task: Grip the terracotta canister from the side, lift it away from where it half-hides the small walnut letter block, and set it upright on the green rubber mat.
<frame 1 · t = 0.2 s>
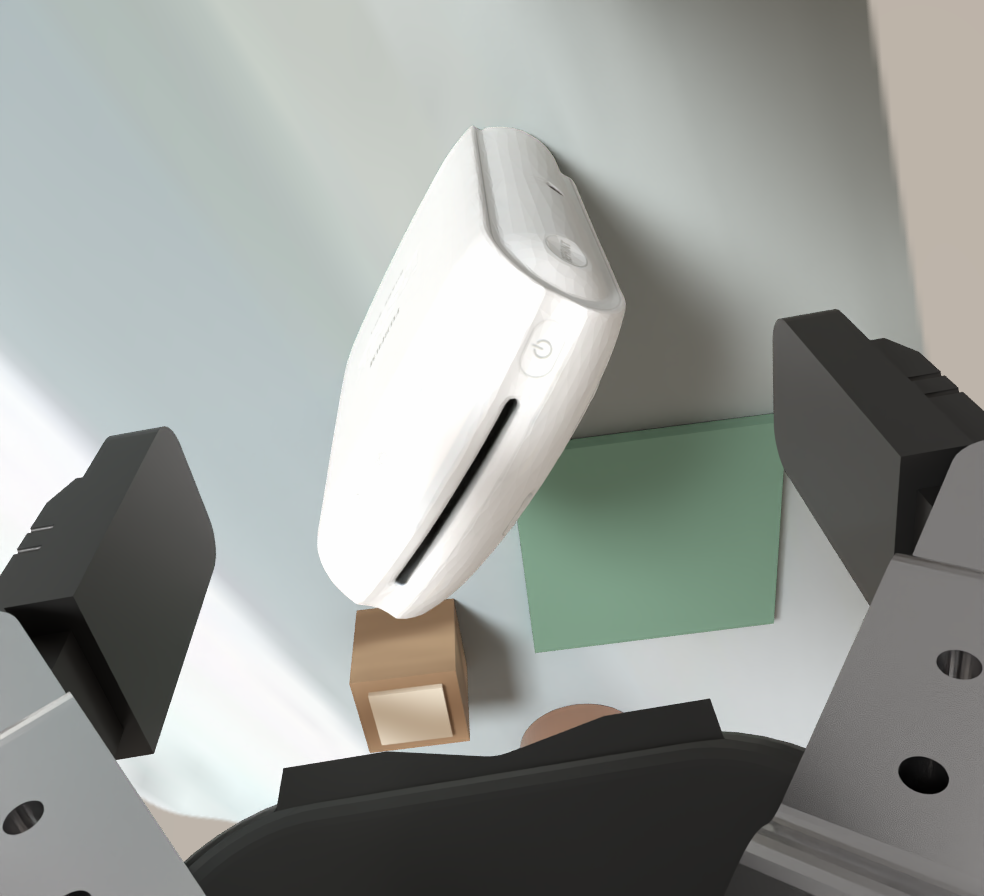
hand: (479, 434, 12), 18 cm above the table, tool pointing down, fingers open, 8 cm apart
green mat: (648, 536, 37), on the table
canister: (580, 745, 43), on the table
letter block: (413, 638, 39), on the table
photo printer: (453, 270, 30), on the table
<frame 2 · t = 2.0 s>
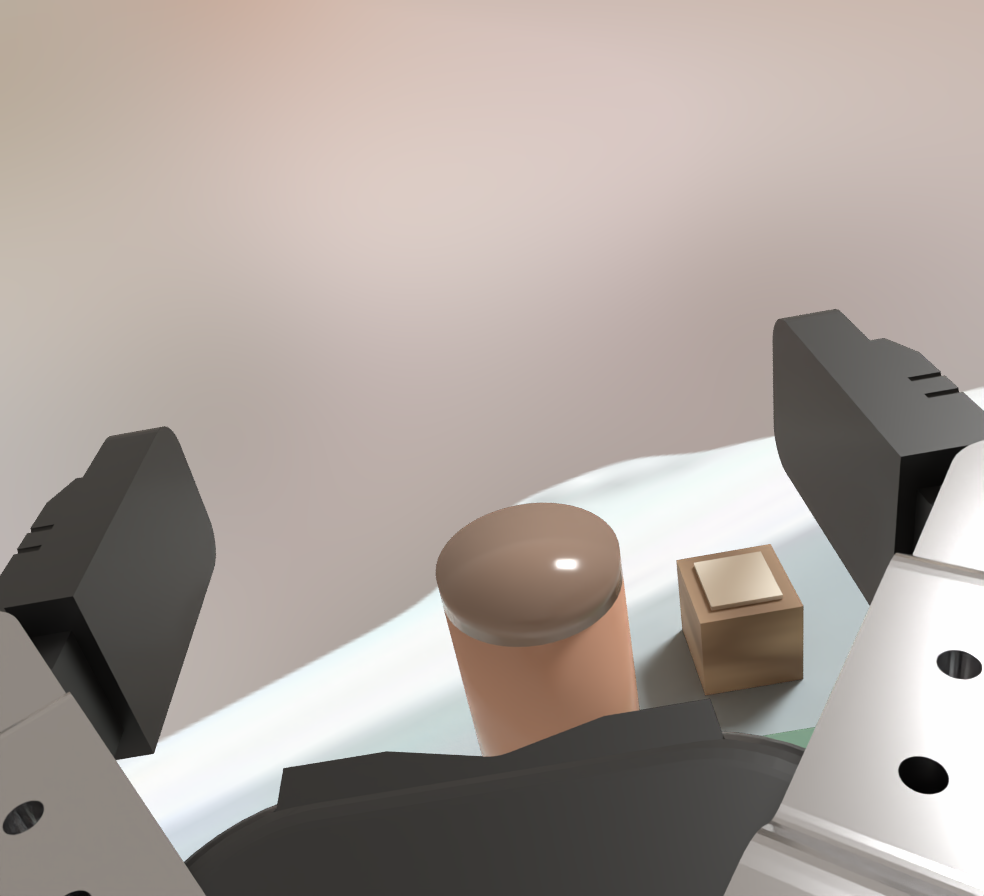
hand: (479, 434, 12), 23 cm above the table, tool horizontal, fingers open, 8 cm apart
green mat: (947, 842, 31), on the table
canister: (575, 812, 34), on the table
letter block: (740, 654, 40), on the table
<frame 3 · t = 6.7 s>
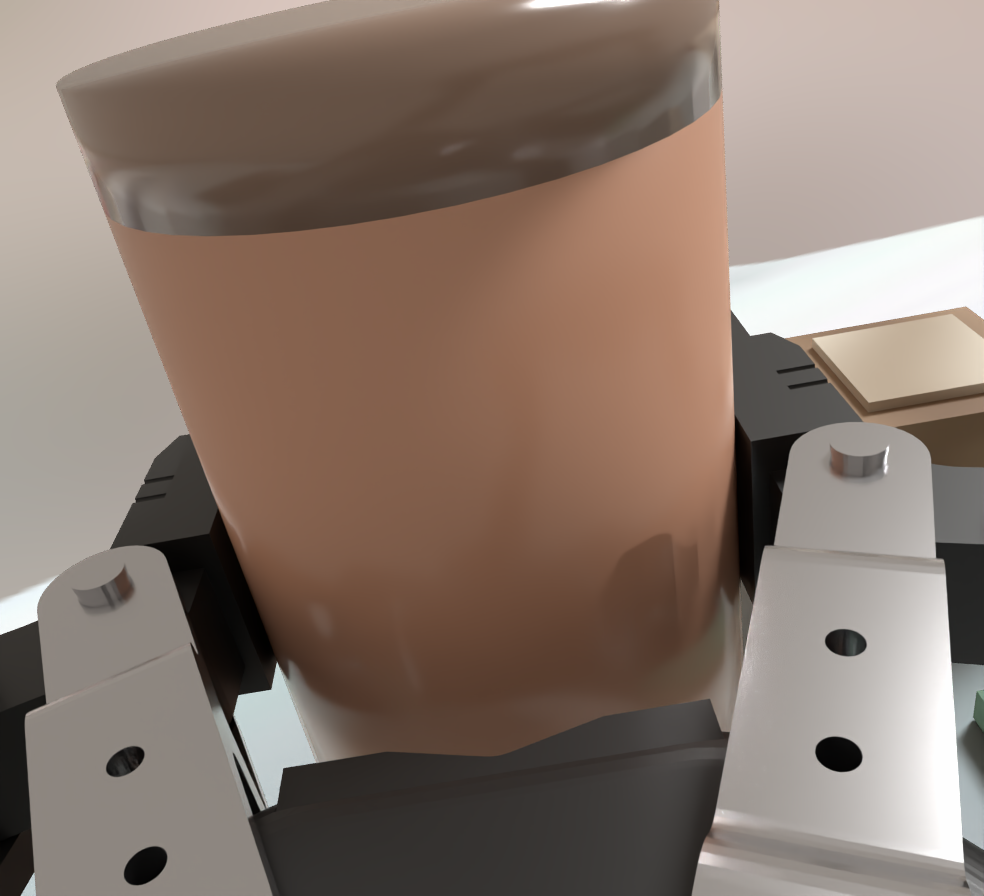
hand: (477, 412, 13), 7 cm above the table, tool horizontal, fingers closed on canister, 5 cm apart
canister: (561, 865, 14), on the table, touching gripper
letter block: (900, 534, 20), on the table
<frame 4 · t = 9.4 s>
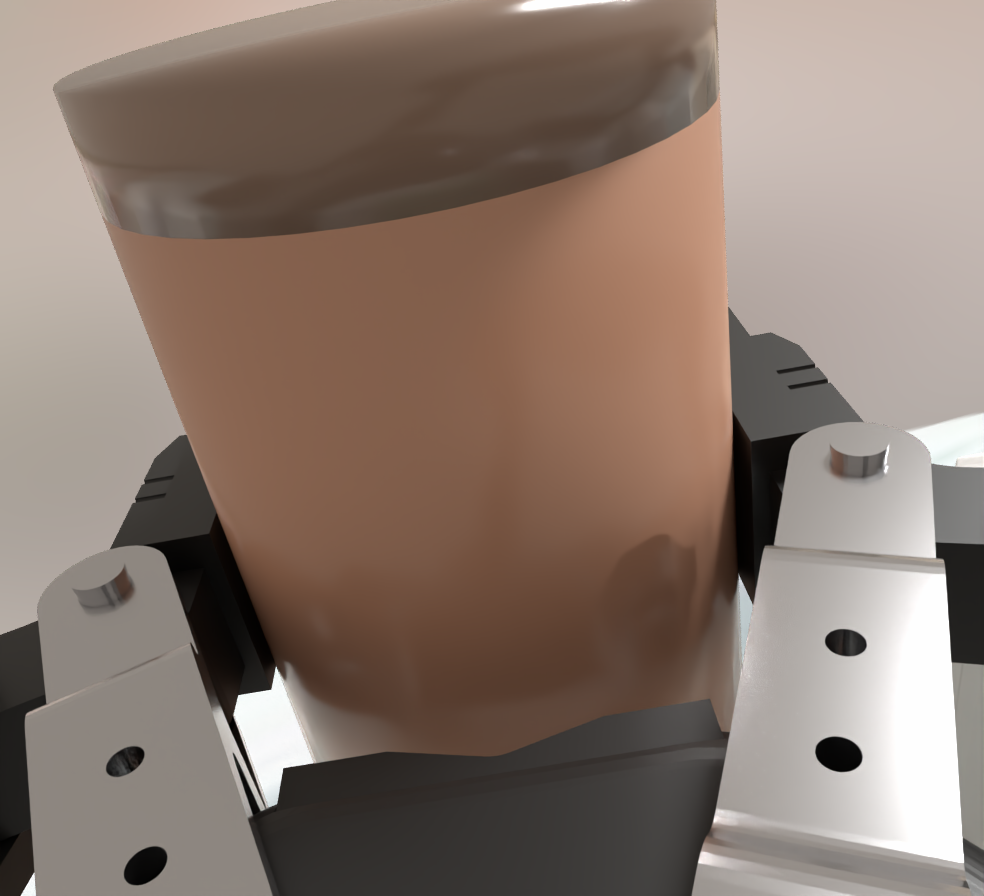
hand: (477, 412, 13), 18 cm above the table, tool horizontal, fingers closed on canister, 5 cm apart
canister: (559, 866, 14), point 11 cm above the table, touching gripper
when the fingers open (9 cm above the table, at t = 12.3 s): canister drops 1 cm, resting on green mat.
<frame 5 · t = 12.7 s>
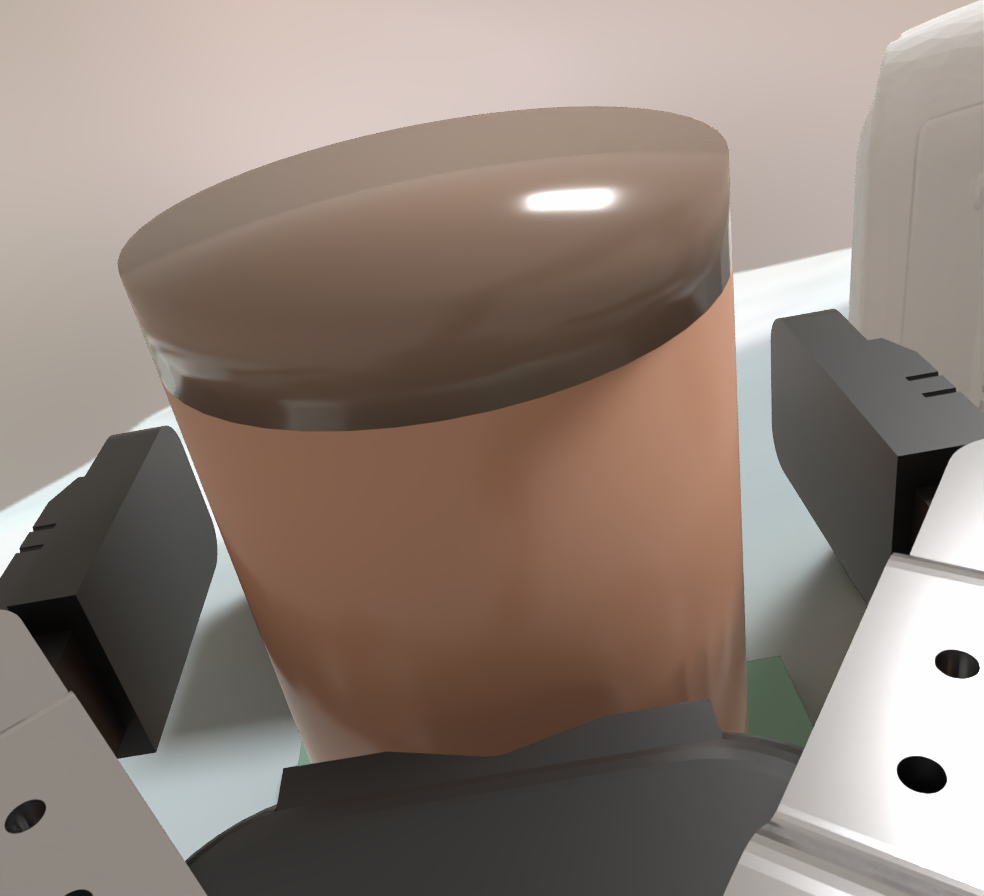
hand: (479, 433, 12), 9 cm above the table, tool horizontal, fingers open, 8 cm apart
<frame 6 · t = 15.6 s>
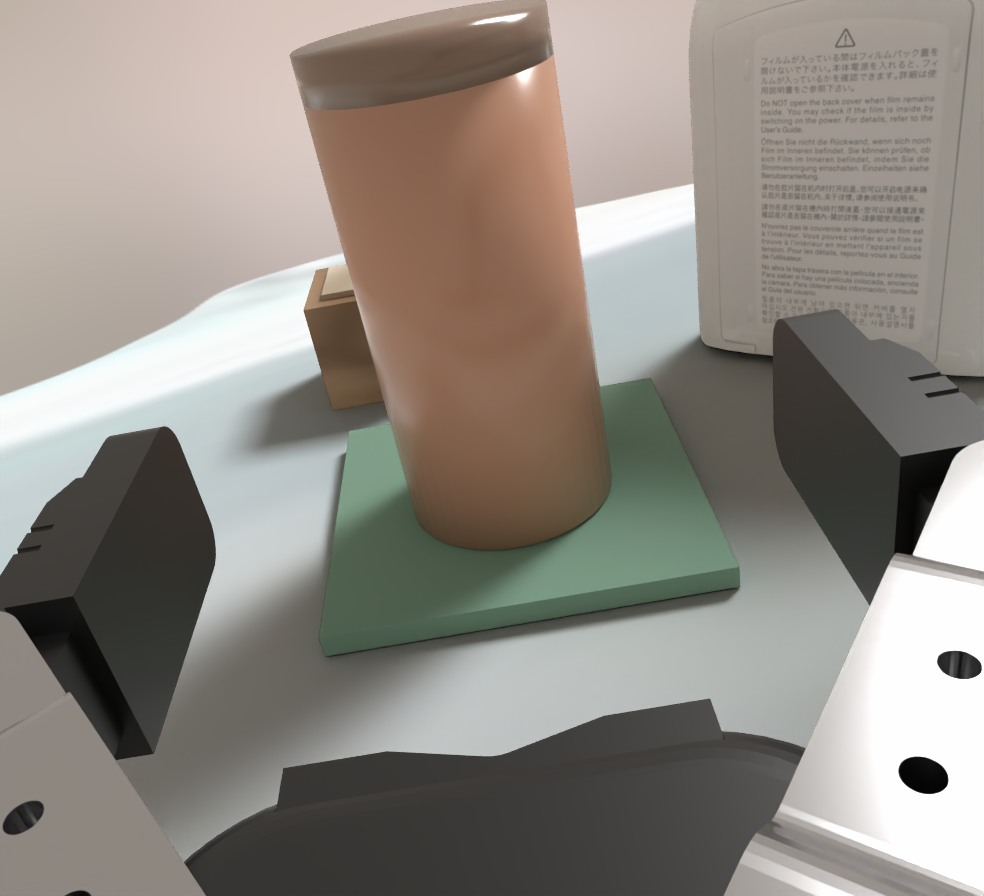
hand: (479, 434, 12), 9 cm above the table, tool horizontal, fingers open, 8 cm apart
green mat: (514, 504, 26), on the table
canister: (511, 487, 26), point 1 cm above the table, touching green mat
letter block: (389, 378, 35), on the table
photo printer: (852, 350, 31), on the table
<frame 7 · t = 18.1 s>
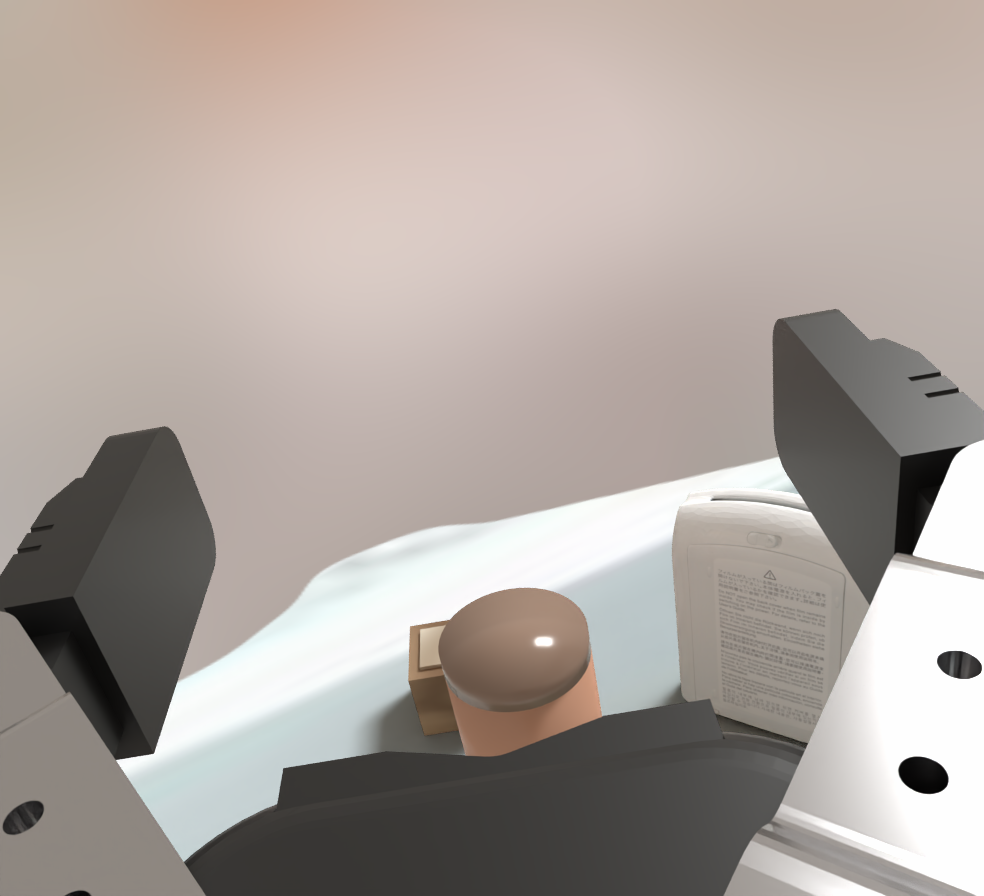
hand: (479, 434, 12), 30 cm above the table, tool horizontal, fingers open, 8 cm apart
canister: (557, 846, 40), point 1 cm above the table, touching green mat
letter block: (461, 701, 49), on the table
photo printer: (785, 711, 46), on the table
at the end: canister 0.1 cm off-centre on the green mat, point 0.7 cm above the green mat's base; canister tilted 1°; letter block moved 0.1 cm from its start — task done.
